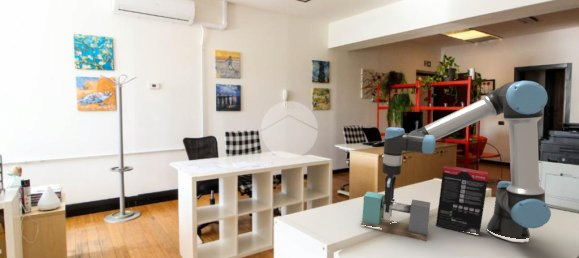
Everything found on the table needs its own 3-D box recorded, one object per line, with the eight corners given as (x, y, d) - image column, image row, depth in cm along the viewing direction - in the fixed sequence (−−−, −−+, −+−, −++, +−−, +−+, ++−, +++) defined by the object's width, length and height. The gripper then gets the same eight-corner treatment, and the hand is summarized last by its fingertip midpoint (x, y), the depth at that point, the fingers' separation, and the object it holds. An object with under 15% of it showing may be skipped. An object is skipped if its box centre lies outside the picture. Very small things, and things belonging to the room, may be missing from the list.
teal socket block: (381, 219, 142) (383, 194, 140) (378, 225, 135) (380, 198, 134) (365, 216, 145) (367, 191, 143) (362, 221, 138) (364, 195, 137)
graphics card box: (480, 231, 138) (488, 170, 135) (480, 237, 132) (488, 173, 129) (437, 221, 147) (443, 163, 143) (435, 226, 141) (442, 166, 137)
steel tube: (414, 212, 134) (415, 204, 133) (413, 215, 131) (414, 207, 130) (373, 204, 141) (374, 197, 140) (372, 207, 138) (372, 199, 137)
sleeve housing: (427, 229, 134) (430, 202, 132) (426, 236, 127) (429, 207, 126) (409, 225, 137) (412, 199, 135) (408, 232, 130) (411, 204, 129)
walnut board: (427, 231, 135) (427, 228, 135) (426, 241, 126) (426, 237, 126) (365, 218, 146) (366, 215, 146) (361, 226, 137) (361, 223, 137)
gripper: (385, 159, 143) (381, 209, 146) (379, 166, 128) (375, 222, 131) (403, 161, 140) (398, 212, 143) (398, 169, 125) (393, 226, 128)
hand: (387, 217), depth 137 cm, fingers closed on steel tube, 3 cm apart
